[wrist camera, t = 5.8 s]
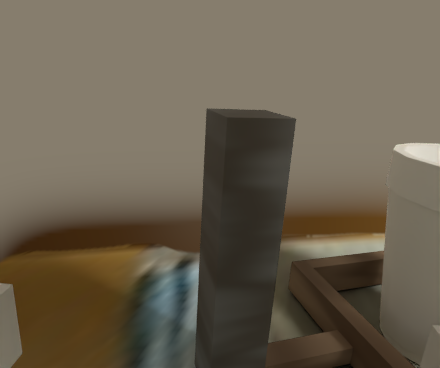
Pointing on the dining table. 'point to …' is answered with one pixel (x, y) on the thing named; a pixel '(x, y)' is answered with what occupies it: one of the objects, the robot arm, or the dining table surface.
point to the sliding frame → (270, 260)
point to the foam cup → (412, 249)
